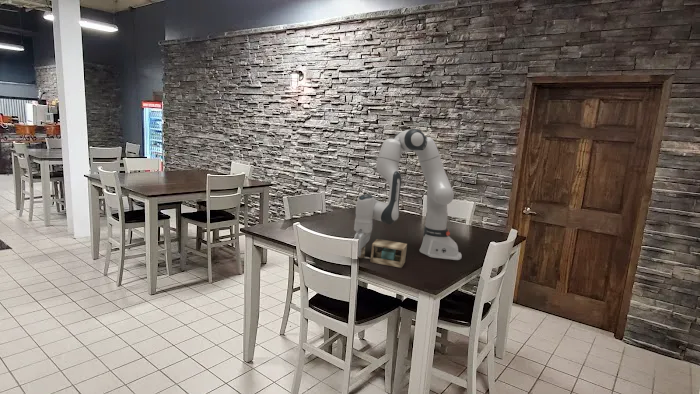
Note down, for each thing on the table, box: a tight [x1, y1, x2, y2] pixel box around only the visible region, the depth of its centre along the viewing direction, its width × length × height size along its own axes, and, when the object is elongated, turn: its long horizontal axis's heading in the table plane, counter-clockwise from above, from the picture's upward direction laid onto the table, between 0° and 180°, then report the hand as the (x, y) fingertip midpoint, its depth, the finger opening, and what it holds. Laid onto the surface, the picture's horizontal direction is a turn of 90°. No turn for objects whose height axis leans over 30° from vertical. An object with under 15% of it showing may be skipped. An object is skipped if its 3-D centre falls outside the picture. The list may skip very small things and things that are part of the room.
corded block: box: [358, 246, 397, 261], centre depth 196 cm, size 19×6×6 cm, turn 74°
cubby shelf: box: [370, 238, 408, 269], centre depth 194 cm, size 16×10×9 cm, turn 73°
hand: (360, 253), depth 198 cm, fingers closed on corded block, 4 cm apart
